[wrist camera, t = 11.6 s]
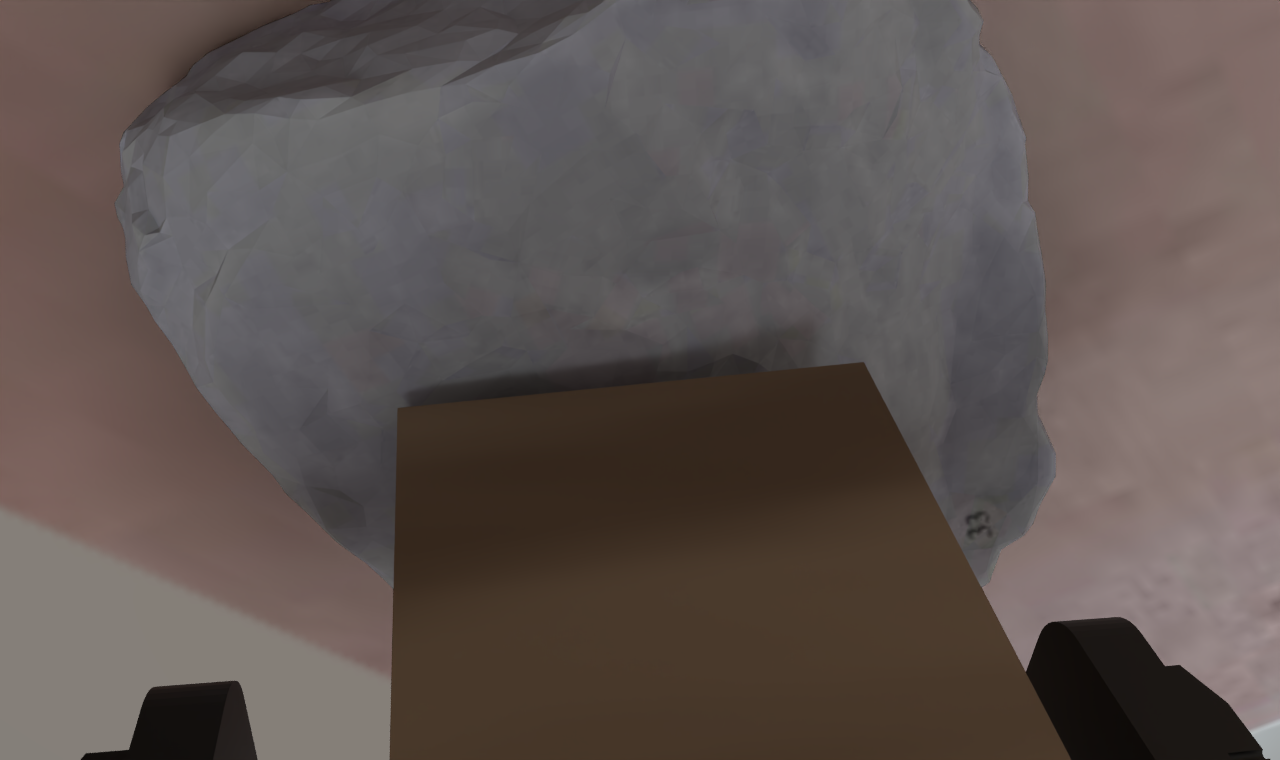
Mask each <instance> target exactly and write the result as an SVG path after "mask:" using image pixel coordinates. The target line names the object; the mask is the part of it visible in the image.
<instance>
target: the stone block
mask: <svg viewBox="0 0 1280 760" xmlns="http://www.w3.org/2000/svg"><path fill="white" fill-rule="evenodd" d="M982 24H983V19H982V17H981V15H980V13H979V11H978V9H977V7H976V6H975V5H974V4H973V3H972V2H971V1H970V0H331V1H330V2H326V3H321V4H315V5H310V6H308V7H306V8H304V9H302V10H300V11H298V12H296V13H294V14H292V15H289V16H287V17H284V18H282V19H279V20H277V21H274V22H272V23H269V24H267V25H265V26H262V27H260V28H258V29H256V30H254V31H252V32H250V33H248V34H246V35H244V36H242V37H240V38H238V39H236V40H234V41H232V42H230V43H228V44H226V45H224V46H222V47H220V48H218V49H216V50H213V51H211V52H209V53H208V54H206V55H205V56H204V57H203V58H202V59H201V60H199V61H198V62H197V63H195V64H194V65H193V66H192V68H191V70H190V71H189V73H188V74H187V76H186V77H185V78H184V79H182V80H181V81H180V82H178V83H177V84H176V85H174V86H173V87H172V88H170V89H169V90H167V91H166V92H165V93H164V94H162V95H161V96H160V97H159V98H158V99H156V100H155V101H154V102H153V103H151V104H150V105H149V106H148V107H147V108H146V109H145V110H144V111H143V112H142V113H141V114H140V115H139V116H138V117H137V118H136V120H135V121H134V122H133V123H132V124H131V125H130V126H129V127H128V128H127V129H126V130H125V131H124V133H123V135H122V138H121V141H120V161H121V174H122V178H123V183H124V187H123V189H122V191H121V193H120V194H119V196H118V198H117V200H116V202H115V208H116V212H117V217H118V219H119V221H120V223H121V225H122V227H123V229H124V234H125V239H126V259H127V265H128V270H129V275H130V280H131V285H132V286H133V288H134V289H135V290H136V292H137V293H138V295H139V296H140V297H141V299H142V300H143V302H144V303H145V304H146V306H147V308H148V310H149V311H150V313H151V315H152V316H153V318H154V320H155V322H156V323H157V324H158V326H159V327H160V329H161V330H162V331H163V333H164V334H165V335H166V337H167V338H168V339H169V341H170V342H171V343H172V345H173V347H174V348H175V350H176V352H177V353H178V355H179V357H180V359H181V360H182V362H183V364H184V366H185V367H186V369H187V371H188V373H189V375H190V376H191V378H192V380H193V382H194V384H195V386H196V388H197V389H198V390H199V391H200V393H201V394H202V395H203V397H204V398H205V399H206V401H207V402H208V403H209V405H210V406H211V407H212V409H213V410H214V411H215V412H216V413H217V415H218V416H219V417H220V418H221V419H222V420H223V422H224V423H225V424H226V425H227V426H228V427H229V429H230V430H231V431H232V432H233V434H234V435H235V436H236V437H237V439H238V440H239V441H240V442H241V443H242V444H243V445H244V446H245V447H246V448H247V449H248V450H249V451H250V453H251V454H252V455H253V456H254V457H255V458H256V459H257V460H258V461H259V462H260V463H261V464H262V465H263V466H264V467H265V468H266V469H267V470H268V471H269V472H270V473H271V474H272V475H273V476H274V478H275V479H276V480H277V482H278V483H279V485H280V486H281V487H282V489H283V490H284V491H285V493H286V494H287V495H288V496H289V497H290V498H291V499H292V500H294V501H295V502H296V503H297V504H298V505H299V506H300V507H301V508H302V509H304V510H305V511H306V512H307V513H308V514H309V515H310V516H311V517H312V518H313V519H314V520H315V521H316V522H317V523H318V524H319V525H320V526H321V527H322V528H323V529H324V530H325V531H326V532H327V533H328V534H329V535H330V536H331V537H332V538H333V539H334V540H335V541H336V542H337V543H339V544H340V545H341V546H343V547H344V548H346V549H347V550H348V551H350V552H351V553H353V554H354V555H355V556H357V557H358V558H360V559H361V560H362V561H364V562H365V563H367V564H368V565H369V566H370V567H371V568H372V569H373V570H374V571H375V572H376V573H377V574H379V575H380V576H381V577H382V578H383V579H384V580H385V581H386V582H387V583H388V584H389V585H390V586H391V587H392V588H393V589H394V544H395V500H396V455H397V411H398V408H402V407H412V406H422V405H432V404H442V403H453V402H463V401H473V400H483V399H493V398H503V397H514V396H524V395H534V394H544V393H554V392H564V391H575V390H585V389H595V388H605V387H615V386H625V385H636V384H646V383H656V382H666V381H676V380H686V379H696V378H707V377H717V376H727V375H737V374H747V373H757V372H768V371H778V370H788V369H798V368H808V367H818V366H829V365H839V364H849V363H859V362H864V363H865V365H866V367H867V369H868V371H869V373H870V375H871V377H872V379H873V381H874V383H875V384H876V386H877V388H878V390H879V392H880V394H881V396H882V398H883V400H884V402H885V404H886V406H887V407H888V409H889V411H890V413H891V415H892V417H893V419H894V421H895V423H896V425H897V427H898V429H899V430H900V432H901V434H902V436H903V438H904V440H905V442H906V444H907V446H908V448H909V450H910V452H911V453H912V455H913V457H914V459H915V461H916V463H917V465H918V467H919V469H920V471H921V473H922V475H923V476H924V478H925V480H926V482H927V484H928V486H929V488H930V490H931V492H932V494H933V496H934V498H935V499H936V501H937V503H938V505H939V507H940V509H941V511H942V513H943V515H944V517H945V519H946V521H947V522H948V524H949V526H950V528H951V530H952V532H953V534H954V536H955V538H956V540H957V542H958V544H959V545H960V547H961V549H962V551H963V553H964V555H965V557H966V559H967V561H968V563H969V565H970V567H971V568H972V570H973V572H974V574H975V576H976V578H977V580H978V582H979V584H980V586H981V588H982V587H983V586H985V585H986V584H987V583H989V582H990V579H991V576H992V573H993V571H994V568H995V565H996V562H997V560H998V557H999V554H1000V551H1001V549H1003V548H1004V547H1006V546H1008V545H1009V544H1011V543H1012V542H1014V541H1016V540H1017V539H1019V538H1021V537H1022V536H1024V535H1025V533H1026V532H1027V531H1028V530H1029V528H1030V527H1031V526H1032V524H1033V522H1034V519H1035V516H1036V514H1037V511H1038V508H1039V506H1040V504H1041V502H1042V500H1043V498H1044V496H1045V495H1046V493H1047V491H1048V489H1049V487H1050V485H1051V483H1052V482H1053V480H1054V478H1055V476H1056V453H1055V451H1054V448H1053V446H1052V444H1051V442H1050V439H1049V437H1048V435H1047V432H1046V430H1045V428H1044V426H1043V423H1042V421H1041V419H1040V417H1039V415H1038V410H1037V392H1038V390H1039V387H1040V385H1041V382H1042V379H1043V377H1044V374H1045V370H1046V365H1047V361H1048V333H1047V323H1046V313H1045V295H1046V281H1045V274H1044V267H1043V260H1042V253H1041V247H1040V242H1039V236H1038V231H1037V224H1036V215H1035V212H1034V210H1033V208H1032V207H1031V205H1030V204H1029V202H1028V168H1027V158H1026V148H1025V141H1026V136H1025V133H1024V130H1023V127H1022V124H1021V122H1020V119H1019V116H1018V113H1017V110H1016V106H1015V103H1014V100H1013V96H1012V94H1011V92H1010V90H1009V88H1008V86H1007V84H1006V82H1005V80H1004V79H1003V77H1002V75H1001V73H1000V71H999V69H998V67H997V65H996V63H995V61H994V59H993V58H992V56H991V55H990V54H989V53H988V52H987V51H986V50H985V49H984V48H983V47H982V46H981V45H980V44H979V37H980V31H981V28H982Z"/></svg>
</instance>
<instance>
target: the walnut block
mask: <svg viewBox="0 0 1280 760" xmlns="http://www.w3.org/2000/svg"><path fill="white" fill-rule="evenodd" d="M390 760H1071V758H1070V756H1069V754H1068V752H1067V751H1066V749H1065V747H1064V745H1063V743H1062V741H1061V739H1060V737H1059V735H1058V733H1057V731H1056V729H1055V728H1054V726H1053V724H1052V722H1051V720H1050V718H1049V716H1048V714H1047V712H1046V710H1045V708H1044V706H1043V705H1042V703H1041V701H1040V699H1039V697H1038V695H1037V693H1036V691H1035V689H1034V687H1033V685H1032V683H1031V682H1030V680H1029V678H1028V676H1027V674H1026V672H1025V670H1024V668H1023V666H1022V664H1021V662H1020V660H1019V659H1018V657H1017V655H1016V653H1015V651H1014V649H1013V647H1012V645H1011V643H1010V641H1009V639H1008V637H1007V636H1006V634H1005V632H1004V630H1003V628H1002V626H1001V624H1000V622H999V620H998V618H997V616H996V614H995V613H994V611H993V609H992V607H991V605H990V603H989V601H988V599H987V597H986V595H985V593H984V591H983V590H982V588H981V586H980V584H979V582H978V580H977V578H976V576H975V574H974V572H973V570H972V568H971V567H970V565H969V563H968V561H967V559H966V557H965V555H964V553H963V551H962V549H961V547H960V545H959V544H958V542H957V540H956V538H955V536H954V534H953V532H952V530H951V528H950V526H949V524H948V522H947V521H946V519H945V517H944V515H943V513H942V511H941V509H940V507H939V505H938V503H937V501H936V499H935V498H934V496H933V494H932V492H931V490H930V488H929V486H928V484H927V482H926V480H925V478H924V476H923V475H922V473H921V471H920V469H919V467H918V465H917V463H916V461H915V459H914V457H913V455H912V453H911V452H910V450H909V448H908V446H907V444H906V442H905V440H904V438H903V436H902V434H901V432H900V430H899V429H898V427H897V425H896V423H895V421H894V419H893V417H892V415H891V413H890V411H889V409H888V407H887V406H886V404H885V402H884V400H883V398H882V396H881V394H880V392H879V390H878V388H877V386H876V384H875V383H874V381H873V379H872V377H871V375H870V373H869V371H868V369H867V367H866V365H865V363H864V362H859V363H849V364H839V365H829V366H818V367H808V368H798V369H788V370H778V371H768V372H757V373H747V374H737V375H727V376H717V377H707V378H696V379H686V380H676V381H666V382H656V383H646V384H636V385H625V386H615V387H605V388H595V389H585V390H575V391H564V392H554V393H544V394H534V395H524V396H514V397H503V398H493V399H483V400H473V401H463V402H453V403H442V404H432V405H422V406H412V407H402V408H398V411H397V455H396V500H395V544H394V589H393V634H392V678H391V725H390Z"/></svg>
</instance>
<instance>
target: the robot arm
mask: <svg viewBox="0 0 1280 760" xmlns="http://www.w3.org/2000/svg"><path fill="white" fill-rule="evenodd" d="M1026 674H1027V676H1028V678H1029V680H1030V682H1031V683H1032V685H1033V687H1034V689H1035V691H1036V693H1037V695H1038V697H1039V699H1040V701H1041V703H1042V705H1043V706H1044V708H1045V710H1046V712H1047V714H1048V716H1049V718H1050V720H1051V722H1052V724H1053V726H1054V728H1055V729H1056V731H1057V733H1058V735H1059V737H1060V739H1061V741H1062V743H1063V745H1064V747H1065V749H1066V751H1067V752H1068V754H1069V756H1070V758H1071V760H1270V759H1265V758H1264V757H1263V754H1262V750H1263V749H1262V748H1261V747H1260V745H1259V744H1258V743H1257V741H1256V740H1255V739H1254V737H1253V736H1252V735H1251V733H1250V732H1249V731H1248V729H1247V728H1246V727H1245V725H1244V724H1243V723H1242V721H1241V720H1240V719H1239V717H1238V716H1237V715H1236V713H1235V712H1234V711H1233V709H1232V708H1231V707H1230V705H1229V704H1228V703H1227V702H1226V701H1224V700H1223V699H1222V698H1221V697H1219V696H1218V695H1217V694H1215V693H1214V692H1213V691H1212V690H1210V689H1209V688H1208V687H1207V686H1205V685H1204V684H1203V683H1202V682H1200V681H1199V680H1198V679H1197V678H1195V677H1194V676H1193V675H1192V674H1190V673H1189V672H1188V671H1187V670H1185V669H1184V668H1183V667H1181V666H1180V665H1174V666H1164V664H1163V663H1162V662H1161V660H1160V659H1159V657H1158V656H1157V655H1156V653H1155V652H1154V651H1153V649H1152V648H1151V646H1150V645H1149V644H1148V642H1147V641H1146V639H1145V638H1144V637H1143V635H1142V634H1141V632H1140V631H1139V630H1138V629H1137V628H1136V627H1135V626H1134V625H1133V624H1132V623H1131V622H1130V621H1128V620H1126V619H1124V618H1121V617H1111V618H1098V619H1085V620H1072V621H1058V622H1051V623H1048V624H1047V625H1046V626H1045V627H1044V628H1043V629H1042V631H1041V633H1040V635H1039V638H1038V641H1037V643H1036V646H1035V649H1034V652H1033V654H1032V657H1031V660H1030V663H1029V665H1028V668H1027V671H1026ZM81 760H257V755H256V750H255V746H254V742H253V737H252V732H251V727H250V723H249V719H248V714H247V710H246V704H245V700H244V695H243V692H242V688H241V686H240V684H239V682H238V681H225V682H212V683H199V684H186V685H172V686H159V687H153V688H151V689H150V690H149V692H148V693H147V695H146V697H145V699H144V702H143V705H142V707H141V711H140V714H139V718H138V721H137V724H136V728H135V731H134V735H133V738H132V741H131V745H130V748H129V750H123V751H110V752H99V753H86V754H85V755H84V757H83V758H82V759H81Z"/></svg>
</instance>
